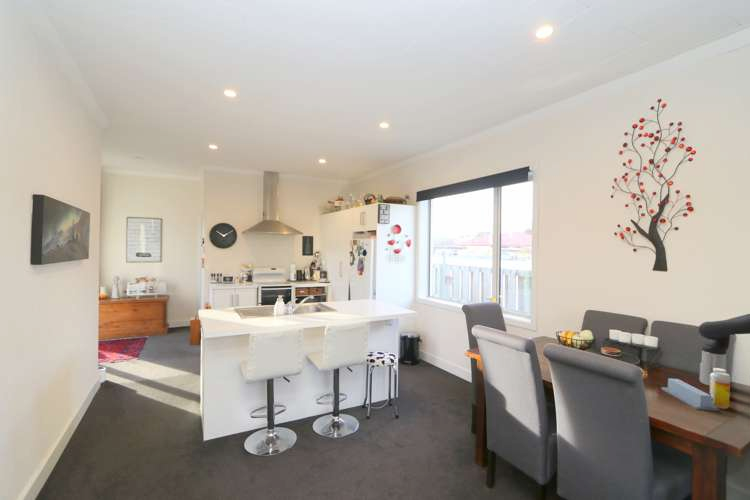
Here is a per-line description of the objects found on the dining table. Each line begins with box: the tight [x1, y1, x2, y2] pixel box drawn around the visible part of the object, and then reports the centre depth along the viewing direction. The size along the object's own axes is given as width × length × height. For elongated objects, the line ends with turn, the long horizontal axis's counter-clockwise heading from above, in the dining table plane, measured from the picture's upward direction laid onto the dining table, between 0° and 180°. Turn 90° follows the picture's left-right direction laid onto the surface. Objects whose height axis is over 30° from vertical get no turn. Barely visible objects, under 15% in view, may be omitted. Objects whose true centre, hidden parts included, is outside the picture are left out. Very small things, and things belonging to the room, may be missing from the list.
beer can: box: [710, 371, 731, 410], centre depth 162 cm, size 6×6×15 cm
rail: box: [661, 378, 720, 412], centre depth 169 cm, size 22×9×6 cm, turn 175°
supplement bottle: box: [709, 368, 727, 395], centre depth 174 cm, size 7×7×13 cm
